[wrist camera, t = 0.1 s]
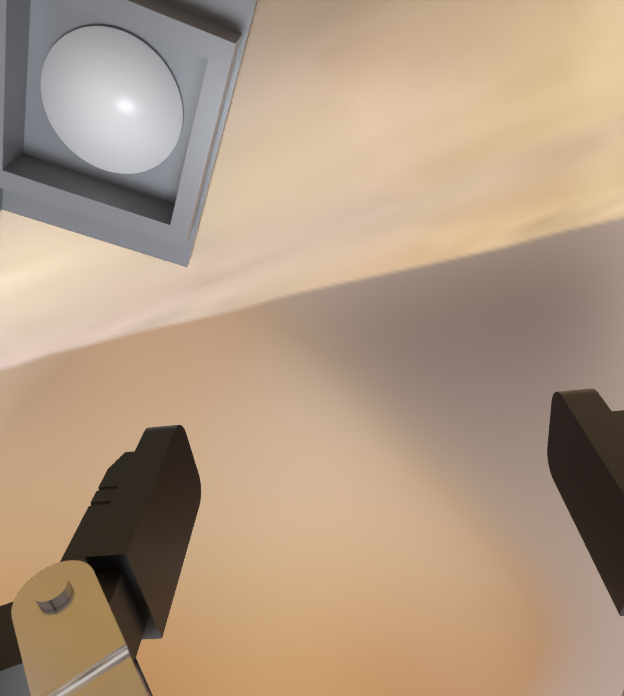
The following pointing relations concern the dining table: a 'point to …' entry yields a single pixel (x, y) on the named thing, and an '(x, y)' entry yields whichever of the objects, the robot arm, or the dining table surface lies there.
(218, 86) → the housing
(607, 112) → the dining table surface
